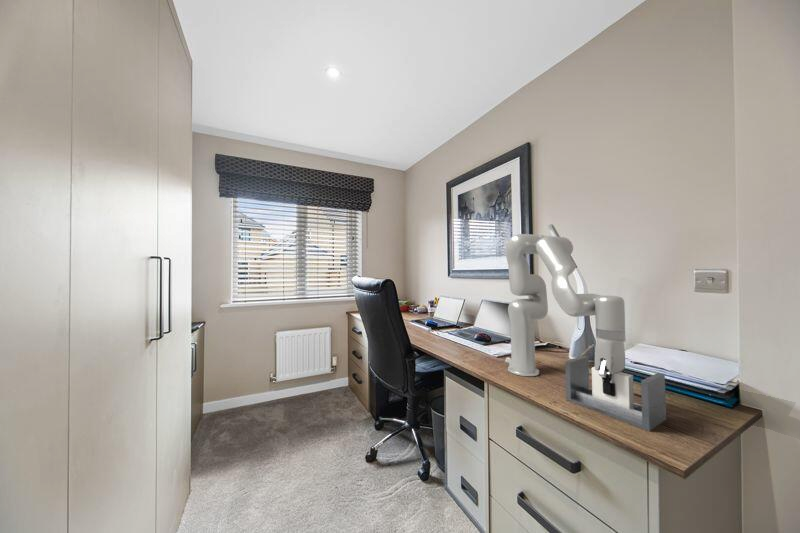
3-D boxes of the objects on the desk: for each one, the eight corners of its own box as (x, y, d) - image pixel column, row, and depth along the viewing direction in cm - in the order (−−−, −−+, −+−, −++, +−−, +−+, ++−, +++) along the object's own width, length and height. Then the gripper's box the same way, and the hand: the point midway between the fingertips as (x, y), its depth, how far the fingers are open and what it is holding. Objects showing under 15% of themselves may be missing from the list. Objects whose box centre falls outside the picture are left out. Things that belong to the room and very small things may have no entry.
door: (592, 398, 91) (591, 367, 92) (597, 396, 93) (596, 365, 93) (629, 411, 83) (628, 377, 83) (633, 408, 84) (632, 375, 84)
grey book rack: (566, 400, 94) (565, 361, 94) (584, 392, 100) (583, 355, 101) (649, 431, 75) (647, 382, 76) (666, 419, 81) (664, 374, 82)
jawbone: (591, 379, 125) (616, 376, 112) (576, 384, 124) (600, 380, 110) (574, 349, 131) (597, 342, 118) (561, 352, 130) (581, 346, 116)
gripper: (609, 330, 96) (610, 384, 95) (584, 335, 87) (585, 394, 87) (635, 334, 89) (637, 392, 89) (611, 340, 81) (613, 404, 81)
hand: (611, 392), depth 88 cm, fingers closed on door, 3 cm apart
